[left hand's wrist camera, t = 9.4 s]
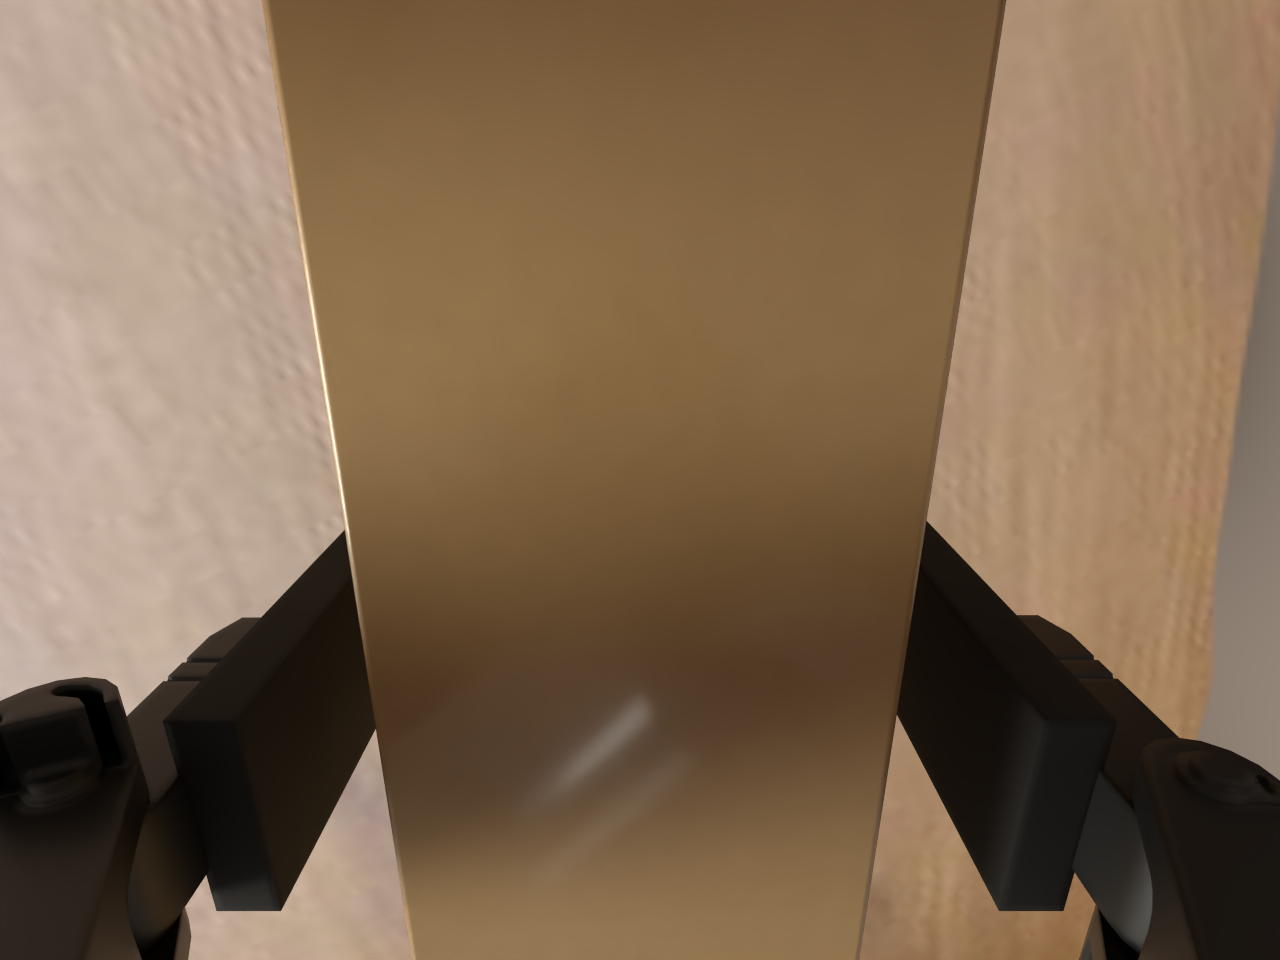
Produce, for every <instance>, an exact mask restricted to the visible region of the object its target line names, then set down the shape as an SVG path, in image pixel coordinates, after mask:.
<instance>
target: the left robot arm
mask: <svg viewBox="0 0 1280 960" xmlns="http://www.w3.org/2000/svg"><path fill="white" fill-rule="evenodd" d="M897 716H898V717H899V719H900V721H901V723H902V725H903V727H904V729H905V731H906V733H907V735H908V737H909V739H910V741H911V742H912V744H913V746H914V748H915V750H916V752H917V754H918V756H919V758H920V760H921V762H922V764H923V766H924V767H925V769H926V771H927V773H928V775H929V777H930V779H931V781H932V783H933V785H934V787H935V789H936V791H937V792H938V794H939V796H940V798H941V800H942V802H943V804H944V806H945V808H946V810H947V812H948V814H949V816H950V817H951V819H952V821H953V823H954V825H955V827H956V829H957V831H958V833H959V835H960V837H961V839H962V841H963V842H964V844H965V846H966V848H967V850H968V852H969V854H970V856H971V858H972V860H973V862H974V864H975V866H976V867H977V869H978V871H979V873H980V875H981V877H982V879H983V881H984V883H985V885H986V887H987V889H988V891H989V892H990V894H991V896H992V898H993V900H994V902H995V904H996V906H997V908H998V910H999V911H1063V910H1064V907H1065V903H1066V900H1067V896H1068V893H1069V889H1070V886H1071V882H1072V879H1073V875H1074V872H1075V873H1076V875H1077V876H1078V878H1079V879H1080V881H1081V882H1082V884H1083V885H1084V887H1085V888H1086V890H1087V891H1088V893H1089V894H1090V896H1091V897H1092V899H1093V900H1094V902H1095V903H1096V906H1095V909H1094V912H1093V916H1092V919H1091V922H1090V925H1089V929H1088V932H1087V935H1086V938H1085V942H1084V945H1083V948H1082V952H1081V955H1080V958H1079V960H1280V780H1278V779H1277V778H1276V777H1274V776H1273V775H1272V774H1270V773H1269V772H1268V771H1266V770H1265V769H1263V768H1262V767H1261V766H1259V765H1258V764H1256V763H1254V762H1252V761H1250V760H1248V759H1246V758H1244V757H1242V756H1240V755H1238V754H1236V753H1234V752H1232V751H1230V750H1227V749H1224V748H1221V747H1218V746H1215V745H1211V744H1208V743H1205V742H1202V741H1197V740H1190V739H1183V738H1179V737H1178V736H1177V735H1176V734H1175V733H1174V732H1173V731H1172V730H1171V729H1169V728H1168V727H1167V726H1166V725H1165V724H1164V723H1163V722H1162V721H1161V720H1160V719H1159V718H1158V717H1157V716H1156V715H1155V714H1154V713H1153V712H1152V711H1151V710H1150V709H1149V708H1148V707H1147V706H1145V705H1144V704H1143V703H1142V702H1141V701H1140V700H1139V699H1138V698H1137V697H1136V696H1135V695H1134V694H1133V693H1132V692H1131V691H1130V690H1129V689H1128V688H1127V687H1126V686H1125V685H1124V684H1123V683H1122V682H1120V681H1119V680H1118V679H1113V674H1112V673H1111V672H1110V671H1109V670H1108V669H1107V668H1106V667H1105V666H1104V665H1103V664H1102V663H1101V662H1100V661H1099V660H1094V656H1093V655H1092V654H1091V653H1090V652H1089V651H1088V650H1087V649H1086V648H1085V647H1084V646H1083V645H1082V644H1081V643H1080V642H1079V641H1078V640H1077V639H1076V638H1075V637H1074V636H1073V635H1072V634H1070V633H1068V632H1067V631H1065V630H1063V629H1061V628H1060V627H1058V626H1056V625H1054V624H1052V623H1051V622H1049V621H1047V620H1045V619H1044V618H1042V617H1040V616H1038V615H1016V614H1015V613H1014V612H1013V611H1012V610H1011V609H1010V608H1009V607H1008V606H1007V605H1006V604H1005V603H1004V602H1003V600H1002V599H1001V598H1000V597H999V596H998V595H997V594H996V593H995V592H994V591H993V590H992V589H991V588H990V587H989V586H988V585H987V584H986V583H985V582H984V581H983V580H982V578H981V577H980V576H979V575H978V574H977V573H976V572H975V571H974V570H973V569H972V568H971V567H970V566H969V565H968V564H967V563H966V562H965V561H964V560H963V559H962V557H961V556H960V555H959V554H958V553H957V552H956V551H955V550H954V549H953V548H952V547H951V546H950V545H949V544H948V543H947V542H946V541H945V540H944V539H943V538H942V537H941V535H940V534H939V533H938V532H937V531H936V530H935V529H934V528H933V527H932V526H931V525H930V524H929V523H928V522H927V521H926V526H925V533H924V539H923V546H922V552H921V559H920V565H919V572H918V579H917V585H916V592H915V598H914V605H913V611H912V618H911V624H910V631H909V637H908V644H907V650H906V657H905V663H904V670H903V676H902V683H901V689H900V696H899V702H898V709H897ZM375 729H376V725H375V719H374V712H373V706H372V700H371V693H370V687H369V681H368V674H367V668H366V661H365V655H364V649H363V642H362V636H361V630H360V623H359V617H358V610H357V604H356V598H355V591H354V585H353V579H352V572H351V566H350V559H349V553H348V547H347V540H346V534H345V530H344V531H343V532H342V533H341V534H340V535H339V537H338V538H337V539H336V540H335V541H334V542H333V543H332V544H331V545H330V546H329V547H328V548H327V549H326V550H325V551H324V552H323V553H322V554H321V555H320V556H319V557H318V559H317V560H316V561H315V562H314V563H313V564H312V565H311V566H310V567H309V568H308V569H307V570H306V571H305V572H304V573H303V574H302V575H301V576H300V577H299V578H298V580H297V581H296V582H295V583H294V584H293V585H292V586H291V587H290V588H289V589H288V590H287V591H286V592H285V593H284V594H283V595H282V596H281V597H280V598H279V599H278V600H277V602H276V603H275V604H274V605H273V606H272V607H271V608H270V609H269V610H268V611H267V612H266V613H265V614H264V615H263V616H262V617H261V618H241V619H239V620H238V621H236V622H234V623H232V624H231V625H229V626H227V627H225V628H223V629H222V630H220V631H218V632H216V633H215V634H213V635H211V636H210V637H209V638H207V639H206V640H205V641H204V642H203V643H202V644H201V645H200V646H199V647H198V648H197V649H196V650H195V651H194V652H193V653H192V654H191V655H190V656H189V657H188V658H187V662H186V663H182V664H181V665H180V666H179V667H177V668H176V669H175V670H174V671H173V672H172V673H171V674H170V675H169V676H168V681H163V682H162V683H161V684H160V685H159V686H158V687H157V688H156V689H155V690H154V691H153V692H152V693H151V694H150V695H149V696H147V697H146V698H145V699H144V700H143V701H142V702H141V703H140V704H139V705H138V706H137V707H136V708H135V709H134V710H133V711H132V712H131V713H130V714H129V715H128V716H126V713H125V710H124V707H123V703H122V700H121V697H120V693H119V690H118V687H117V686H115V685H114V684H112V683H111V682H109V681H108V680H106V679H99V678H89V677H82V678H74V679H66V680H58V681H54V682H51V683H47V684H44V685H40V686H37V687H34V688H30V689H27V690H25V691H22V692H20V693H18V694H15V695H13V696H11V697H9V698H6V699H4V700H2V701H0V960H188V956H189V949H190V942H191V931H190V924H189V919H188V916H187V912H186V909H185V906H186V904H187V903H188V901H189V900H190V898H191V897H192V895H193V894H194V892H195V891H196V889H197V888H198V886H199V885H200V883H201V882H202V880H203V879H204V877H205V876H206V875H207V879H208V882H209V886H210V889H211V893H212V896H213V900H214V903H215V907H216V910H217V911H281V910H282V908H283V906H284V904H285V902H286V900H287V898H288V896H289V894H290V893H291V891H292V889H293V887H294V885H295V883H296V881H297V879H298V877H299V875H300V873H301V871H302V869H303V868H304V866H305V864H306V862H307V860H308V858H309V856H310V854H311V852H312V850H313V848H314V846H315V844H316V843H317V841H318V839H319V837H320V835H321V833H322V831H323V829H324V827H325V825H326V823H327V821H328V819H329V818H330V816H331V814H332V812H333V810H334V808H335V806H336V804H337V802H338V800H339V798H340V796H341V794H342V793H343V791H344V789H345V787H346V785H347V783H348V781H349V779H350V777H351V775H352V773H353V771H354V769H355V768H356V766H357V764H358V762H359V760H360V758H361V756H362V754H363V752H364V750H365V748H366V746H367V744H368V743H369V741H370V739H371V737H372V735H373V733H374V731H375Z"/></svg>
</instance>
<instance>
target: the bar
mask: <svg viewBox="0 0 1280 960" xmlns="http://www.w3.org/2000/svg"><path fill="white" fill-rule="evenodd" d="M262 4H263V11H264V17H265V24H266V30H267V36H268V43H269V49H270V56H271V62H272V68H273V75H274V81H275V87H276V94H277V100H278V107H279V113H280V119H281V126H282V132H283V138H284V145H285V151H286V158H287V164H288V170H289V177H290V183H291V189H292V196H293V202H294V209H295V215H296V221H297V228H298V234H299V240H300V247H301V253H302V260H303V266H304V272H305V279H306V285H307V292H308V298H309V304H310V311H311V317H312V323H313V330H314V336H315V343H316V349H317V355H318V362H319V368H320V374H321V381H322V387H323V394H324V400H325V406H326V413H327V419H328V425H329V432H330V438H331V445H332V451H333V457H334V464H335V470H336V476H337V483H338V489H339V496H340V502H341V508H342V515H343V521H344V527H345V534H346V540H347V547H348V553H349V559H350V566H351V572H352V579H353V585H354V591H355V598H356V604H357V610H358V617H359V623H360V630H361V636H362V642H363V649H364V655H365V661H366V668H367V674H368V681H369V687H370V693H371V700H372V706H373V712H374V719H375V725H376V732H377V738H378V744H379V751H380V757H381V763H382V770H383V776H384V783H385V789H386V795H387V802H388V808H389V815H390V821H391V827H392V834H393V840H394V846H395V853H396V859H397V866H398V872H399V878H400V885H401V891H402V897H403V904H404V910H405V917H406V923H407V929H408V936H409V942H410V948H411V955H412V960H859V957H860V950H861V944H862V937H863V931H864V924H865V918H866V911H867V904H868V898H869V891H870V885H871V878H872V872H873V865H874V859H875V852H876V846H877V839H878V833H879V826H880V820H881V813H882V807H883V800H884V794H885V787H886V781H887V774H888V768H889V761H890V755H891V748H892V741H893V735H894V728H895V722H896V715H897V709H898V702H899V696H900V689H901V683H902V676H903V670H904V663H905V657H906V650H907V644H908V637H909V631H910V624H911V618H912V611H913V605H914V598H915V592H916V585H917V579H918V572H919V565H920V559H921V552H922V546H923V539H924V533H925V526H926V520H927V513H928V507H929V500H930V494H931V487H932V481H933V474H934V468H935V461H936V455H937V448H938V442H939V435H940V429H941V422H942V416H943V409H944V402H945V396H946V389H947V383H948V376H949V370H950V363H951V357H952V350H953V344H954V337H955V331H956V324H957V318H958V311H959V305H960V298H961V292H962V285H963V279H964V272H965V266H966V259H967V253H968V246H969V240H970V233H971V226H972V220H973V213H974V207H975V200H976V194H977V187H978V181H979V174H980V168H981V161H982V155H983V148H984V142H985V135H986V129H987V122H988V116H989V109H990V103H991V96H992V90H993V83H994V77H995V70H996V64H997V57H998V50H999V44H1000V37H1001V31H1002V24H1003V18H1004V11H1005V5H1006V0H262Z"/></svg>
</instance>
